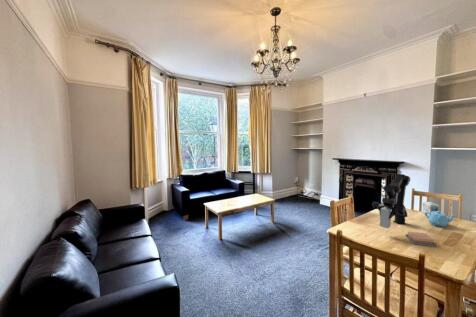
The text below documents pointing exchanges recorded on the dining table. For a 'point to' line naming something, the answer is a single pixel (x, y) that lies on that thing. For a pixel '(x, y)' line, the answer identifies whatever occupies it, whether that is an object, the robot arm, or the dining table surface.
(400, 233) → the dining table surface
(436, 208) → the light bulb box
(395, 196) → the robot arm
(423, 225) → the dining table surface
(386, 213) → the column brick
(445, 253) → the dining table surface
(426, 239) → the pinkish brown square block
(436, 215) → the teapot
